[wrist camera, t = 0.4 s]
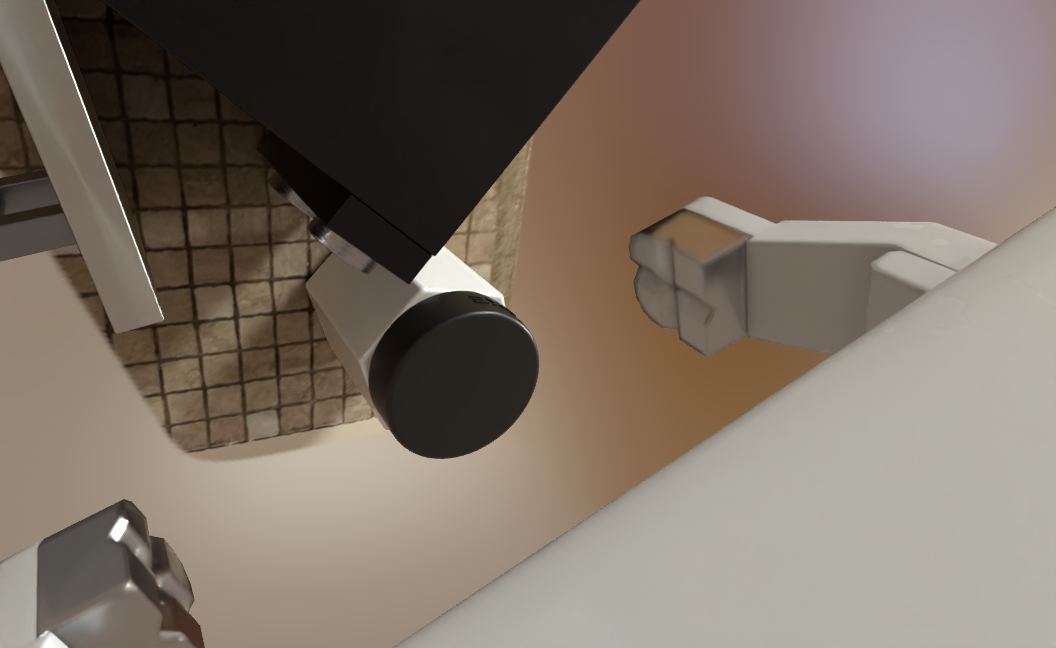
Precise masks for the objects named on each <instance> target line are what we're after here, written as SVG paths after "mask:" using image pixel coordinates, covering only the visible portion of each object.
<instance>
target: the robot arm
mask: <svg viewBox="0 0 1056 648" xmlns="http://www.w3.org/2000/svg"><path fill="white" fill-rule="evenodd" d="M629 252H630V259H631V260H632V261H633V262H635V263H636V264H637V265H638V266H639V268H638V271H637V273H636V276H635V278H634V287H635V293H636V298H637V300H638V302H639V304H640V305H641V308H642V310H643V312H644V313H645V314H646V315H647V316H648V317H649V318H650V319H651V321H653V322H654V323H656V324H657V325H659V326H660V327H662V328H670V329H678V332H679V338H680V340H681V341H683V342H684V343H686V344H687V345H689V346H690V347H692V348H693V349H695V350H697V351H698V352H699V353H701V354H702V355H704V356H706V357H707V358H709V357H710V356H712V355H714V354H715V353H717V352H719V351H721V350H722V349H724V348H726V347H727V346H729V345H731V344H733V343H734V342H736V341H738V340H739V339H741V338H743V337H745V336H746V335H748V337H749V338H754V339H758V340H763V341H768V342H773V343H778V344H782V345H787V346H793V347H797V348H802V349H806V350H811V351H816V352H821V353H826V354H831V355H832V356H831V357H829V358H827V359H826V360H825V361H823V362H821V363H820V364H818V365H817V366H815V367H814V368H812V369H811V370H809V371H808V372H807V373H805V374H803V375H802V376H800V377H799V378H797V379H796V380H795V381H793V382H791V383H790V384H789V385H787V386H785V387H784V388H782V389H781V390H779V391H778V392H777V393H775V394H773V395H772V396H770V397H769V398H767V399H766V400H764V401H763V402H761V403H760V404H758V405H757V406H755V407H754V408H752V409H751V410H749V411H748V412H746V413H745V414H743V415H742V416H740V417H739V418H737V419H736V420H734V421H733V422H731V423H730V424H728V425H727V426H725V427H724V428H722V429H721V430H719V431H718V432H716V433H715V434H713V435H711V436H710V437H708V438H707V439H705V440H704V441H702V442H701V443H699V444H698V445H696V446H695V447H694V448H692V449H690V450H689V451H687V452H686V453H685V454H683V455H681V456H680V457H678V458H677V459H675V460H674V461H672V462H671V463H669V464H668V465H666V466H665V467H663V468H662V469H660V470H659V471H657V472H656V473H654V474H653V475H651V476H650V477H648V478H647V479H645V480H643V481H642V482H640V483H639V484H637V485H636V486H635V487H633V488H632V489H630V490H628V491H627V492H625V493H624V494H623V495H621V496H620V497H618V498H616V499H615V500H613V501H612V502H611V503H609V504H607V505H606V506H604V507H603V508H601V509H600V510H599V511H597V512H595V513H594V514H592V515H591V516H590V517H588V518H586V519H585V520H583V521H582V522H580V523H579V524H577V525H576V526H574V527H573V528H571V529H570V530H569V531H567V532H565V533H564V534H562V535H561V536H559V537H558V538H556V539H555V540H553V541H552V542H550V543H549V544H548V545H546V546H544V547H543V548H542V549H540V550H538V551H537V552H536V553H534V554H532V555H531V556H529V557H528V558H526V559H525V560H523V561H522V562H520V563H519V564H517V565H516V566H514V567H513V568H511V569H510V570H508V571H507V572H505V573H504V574H502V575H501V576H499V577H498V578H496V579H495V580H493V581H492V582H490V583H489V584H487V585H486V586H484V587H483V588H481V589H480V590H478V591H477V592H475V593H474V594H472V595H471V596H469V597H468V598H466V599H465V600H463V601H462V602H460V603H459V604H457V605H456V606H454V607H453V608H451V609H450V610H448V611H447V612H445V613H444V614H442V615H441V616H439V617H438V618H436V619H435V620H433V621H432V622H430V623H429V624H427V625H426V626H424V627H423V628H421V629H420V630H418V631H417V632H415V633H414V634H412V635H411V636H409V637H408V638H406V639H405V640H403V641H402V642H400V643H399V644H397V645H396V646H394V647H393V648H1056V207H1054V208H1053V209H1051V210H1050V211H1048V212H1047V213H1045V214H1044V215H1042V216H1041V217H1039V218H1038V219H1036V220H1035V221H1033V222H1032V223H1030V224H1029V225H1027V226H1026V227H1024V228H1023V229H1021V230H1020V231H1018V232H1017V233H1015V234H1014V235H1012V236H1011V237H1009V238H1008V239H1006V240H1005V241H1003V242H1002V243H1000V244H999V245H998V244H996V243H993V242H990V241H987V240H984V239H981V238H978V237H975V236H972V235H969V234H966V233H963V232H961V231H958V230H955V229H952V228H949V227H946V226H943V225H940V224H937V223H934V222H864V221H860V222H859V221H782V222H780V223H778V224H774V223H772V222H770V221H767V220H765V219H762V218H760V217H758V216H755V215H753V214H750V213H748V212H745V211H743V210H741V209H738V208H736V207H733V206H731V205H728V204H726V203H724V202H721V201H719V200H716V199H714V198H711V197H700V198H699V199H697V200H695V201H693V202H692V203H690V204H688V205H686V206H684V207H683V208H681V209H679V210H678V211H677V212H675V213H673V214H671V215H670V216H668V217H666V218H664V219H662V220H660V221H658V222H657V223H655V224H653V225H651V226H649V227H647V228H645V229H643V230H642V231H640V232H638V233H636V234H634V235H632V236H631V238H630V243H629ZM193 602H194V596H193V592H192V588H191V584H190V581H189V579H188V577H187V574H186V572H185V570H184V567H183V565H182V563H181V562H180V560H179V558H178V557H177V555H176V554H175V552H174V551H173V549H172V548H171V547H170V546H169V545H168V543H167V542H166V541H165V540H164V538H159V537H153V536H149V532H148V526H147V521H146V517H145V516H144V515H143V514H142V513H141V511H140V510H139V509H138V508H137V507H136V506H135V505H134V504H133V503H132V502H131V501H128V500H124V499H123V500H121V501H120V502H117V503H115V504H114V505H111V506H109V507H107V508H105V509H103V510H101V511H99V512H97V513H95V514H93V515H91V516H89V517H87V518H85V519H83V520H81V521H79V522H77V523H75V524H73V525H71V526H69V527H67V528H65V529H63V530H61V531H59V532H57V533H55V534H53V535H51V536H49V537H47V538H45V539H44V540H43V541H40V542H37V543H35V544H33V545H32V546H29V547H28V548H26V549H24V550H22V551H20V552H18V553H16V554H14V555H12V556H10V557H8V558H6V559H5V560H2V561H1V562H0V648H205V647H204V642H203V637H202V632H201V628H200V625H199V624H198V623H197V622H196V620H195V619H194V618H193V617H192V616H191V615H190V614H189V611H190V608H191V606H192V604H193Z"/></svg>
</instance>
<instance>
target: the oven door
mask: <svg viewBox="0 0 1056 648" xmlns="http://www.w3.org/2000/svg"><path fill="white" fill-rule="evenodd" d="M0 65H1V67H2V70H3V72H4V74H5V77H6V79H7V81H8V84H9V86H10V88H11V91H12V93H13V96H14V98H15V100H16V103H17V105H18V107H19V110H20V112H21V114H22V117H23V119H24V121H25V124H26V126H27V128H28V131H29V133H30V136H31V138H32V140H33V143H34V145H35V147H36V150H37V152H38V154H39V157H40V159H41V161H42V164H43V166H44V169H45V170H41V171H36V172H30V173H25V174H19V175H14V176H9V177H3V178H0V261H4V260H8V259H13V258H17V257H21V256H26V255H30V254H34V253H39V252H44V251H48V250H52V249H57V248H61V247H65V246H70V245H74V244H77V246H78V249H79V251H80V253H81V256H82V258H83V260H84V262H85V264H86V266H87V269H88V271H89V273H90V276H91V278H92V280H93V283H94V285H95V287H96V290H97V292H98V295H99V297H100V299H101V302H102V304H103V306H104V309H105V311H106V313H107V316H108V318H109V320H110V323H111V325H112V328H113V330H114V332H115V333H116V334H118V333H122V332H126V331H129V330H133V329H136V328H140V327H143V326H147V325H150V324H154V323H157V322H161V321H164V319H165V318H164V315H163V311H162V308H161V305H160V301H159V298H158V295H157V291H156V288H155V285H154V281H153V278H152V275H151V271H150V268H149V265H148V261H147V258H146V255H145V251H144V248H143V245H142V241H141V238H140V235H139V232H138V228H137V225H136V222H135V218H134V215H133V212H132V209H131V207H130V204H129V201H128V198H127V196H126V193H125V190H124V188H123V185H122V182H121V179H120V177H119V174H118V171H117V169H116V166H115V163H114V160H113V158H112V155H111V152H110V150H109V147H108V144H107V141H106V139H105V136H104V133H103V131H102V128H101V125H100V122H99V120H98V117H97V114H96V112H95V109H94V106H93V103H92V101H91V98H90V95H89V93H88V90H87V87H86V84H85V82H84V79H83V76H82V74H81V71H80V68H79V65H78V63H77V60H76V57H75V55H74V52H73V49H72V46H71V44H70V41H69V38H68V36H67V33H66V30H65V27H64V25H63V22H62V19H61V17H60V14H59V11H58V8H57V6H56V3H55V0H0Z"/></svg>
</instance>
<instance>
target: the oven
mask: <svg viewBox="0 0 1056 648" xmlns="http://www.w3.org/2000/svg"><path fill="white" fill-rule="evenodd" d="M101 1H102V2H103V3H105V4H106V5H107V6H109V7H110V8H111V9H112V10H114V11H115V12H116V13H118V14H119V15H120V16H122V17H123V18H124V19H125V20H127V21H128V22H129V23H131V24H132V25H133V26H135V27H136V28H137V29H139V30H140V31H141V32H142V33H144V34H145V35H146V36H148V37H149V38H150V39H152V40H153V41H154V42H155V43H157V44H158V45H159V46H161V47H162V48H163V49H165V50H166V51H167V52H168V53H170V54H171V55H172V56H174V57H175V58H176V59H178V60H179V61H180V62H182V63H183V64H184V65H185V66H187V67H188V68H189V69H191V70H192V71H193V72H195V73H196V74H197V75H198V76H200V77H201V78H202V79H204V80H205V81H206V82H208V83H209V84H210V85H211V86H213V87H214V88H215V89H217V90H218V91H219V92H221V93H222V94H223V95H224V96H226V97H227V98H228V99H230V100H231V101H232V102H234V103H235V104H236V105H238V106H239V107H240V108H241V109H243V110H244V111H245V112H247V113H248V114H249V115H251V116H252V117H253V118H254V119H256V120H257V121H258V122H260V123H261V124H262V125H264V126H265V127H266V128H267V129H269V130H270V131H271V132H270V133H269V134H268V136H267V137H266V138H265V140H264V141H263V142H262V143H261V145H260V146H259V147H258V148H257V151H258V152H259V153H260V154H261V155H262V156H263V158H264V159H265V160H266V161H267V162H268V163H269V164H270V165H271V166H272V167H273V169H274V170H275V171H276V172H275V173H274V174H273V176H272V177H271V178H270V179H269V181H268V183H269V184H270V186H271V187H272V188H273V189H274V190H276V191H277V192H278V193H279V194H280V195H281V196H283V197H284V198H285V199H286V200H288V201H289V202H290V203H292V204H293V205H294V206H295V207H297V208H298V209H300V210H301V211H302V212H304V213H305V214H307V215H308V216H310V217H311V218H313V220H312V221H311V222H310V223H309V225H308V226H307V230H308V231H309V232H310V233H311V234H312V235H313V236H314V237H315V238H316V239H317V240H318V241H319V242H320V243H321V244H323V245H324V246H325V247H326V248H327V249H329V250H330V251H331V252H333V253H334V254H335V255H336V256H338V257H339V258H341V259H342V260H343V261H345V262H346V263H348V264H349V265H350V266H352V267H354V268H355V269H357V270H358V271H360V272H362V273H364V274H367V275H369V274H370V273H371V272H372V271H373V269H374V268H375V267H376V266H377V264H380V265H381V266H383V267H384V268H385V269H387V270H388V271H390V272H391V273H393V274H394V275H395V276H397V277H398V278H400V279H401V280H402V281H404V282H405V283H407V284H410V283H411V282H412V281H413V280H414V278H415V277H416V276H417V275H418V273H419V272H420V271H421V270H422V268H423V267H424V266H425V265H426V263H427V262H428V261H429V260H430V258H431V257H432V255H433V256H436V255H437V254H438V253H439V251H440V250H441V249H442V248H443V246H444V245H445V244H446V243H447V241H448V240H449V239H450V238H451V236H452V235H453V234H454V233H455V231H456V230H457V229H458V228H459V226H460V225H461V224H462V223H463V221H464V220H465V219H466V218H467V216H468V215H469V214H470V213H471V211H472V210H473V209H474V208H475V206H476V205H477V204H478V203H479V201H480V200H481V199H482V198H483V196H484V195H485V194H486V193H487V191H488V190H489V189H490V188H491V186H492V185H493V184H494V183H495V181H496V180H497V179H498V178H499V176H500V175H501V174H502V173H503V171H504V170H505V169H506V168H507V166H508V165H509V164H510V163H511V161H512V160H513V159H514V158H515V156H516V155H517V154H518V153H519V151H520V150H521V149H522V148H523V146H524V145H525V144H526V143H527V141H528V140H529V139H530V138H531V136H532V135H533V134H534V133H535V131H536V130H537V129H538V128H539V126H540V125H541V124H542V123H543V121H544V120H545V119H546V118H547V116H548V115H549V114H550V113H551V111H552V110H553V109H554V108H555V106H556V105H557V104H558V103H559V101H560V100H561V99H562V98H563V96H564V95H565V94H566V93H567V91H568V90H569V89H570V88H571V86H572V85H573V84H574V83H575V81H576V80H577V79H578V78H579V76H580V75H581V74H582V73H583V71H584V70H585V69H586V68H587V66H588V65H589V64H590V63H591V61H592V60H593V59H594V58H595V56H596V55H597V54H598V53H599V51H600V50H601V49H602V47H603V46H604V45H605V44H606V43H607V41H608V40H609V39H610V38H611V36H612V35H613V34H614V33H615V31H616V30H617V29H618V28H619V26H620V25H621V24H622V23H623V21H624V20H625V19H626V18H627V16H628V15H629V14H630V13H631V11H632V10H633V9H634V8H635V6H636V5H637V4H638V3H639V1H640V0H101Z"/></svg>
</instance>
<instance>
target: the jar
mask: <svg viewBox="0 0 1056 648" xmlns="http://www.w3.org/2000/svg"><path fill="white" fill-rule="evenodd" d="M305 286H306V289H307V292H308V294H309V296H310V299H311V301H312V304H313V306H314V309H315V311H316V314H317V316H318V319H319V321H320V323H321V326H322V328H323V331H324V333H325V336H326V338H327V341H328V343H329V346H330V347H331V349H332V350H333V352H334V353H335V355H336V356H337V358H338V359H339V361H340V362H341V364H342V365H343V367H344V368H345V370H346V371H347V373H348V374H349V376H350V377H351V379H352V380H353V382H354V383H355V385H356V386H357V388H358V389H359V391H360V392H361V394H362V395H363V397H364V398H365V400H366V401H367V403H368V404H369V406H370V407H371V409H372V411H373V412H374V414H375V415H376V417H377V418H378V420H379V421H380V423H381V424H382V426H383V427H384V428H385V429H387V430H390V431H391V432H392V434H393V435H394V437H395V438H396V439H397V440H398V442H399V443H400V444H401V445H403V446H404V447H405V448H407V449H408V450H409V451H411V452H413V453H415V454H417V455H420V456H423V457H427V458H436V459H445V458H454V457H459V456H463V455H466V454H469V453H472V452H474V451H477V450H479V449H481V448H483V447H485V446H486V445H488V444H490V443H491V442H492V441H494V440H496V439H497V438H498V437H500V436H501V435H502V434H503V433H504V432H506V431H507V430H508V429H509V428H510V427H511V426H512V425H513V424H514V422H515V421H516V420H517V419H518V418H519V416H520V415H521V414H522V412H523V411H524V409H525V408H526V406H527V404H528V402H529V400H530V398H531V396H532V394H533V392H534V389H535V386H536V382H537V378H538V372H539V371H538V370H539V356H538V350H537V346H536V343H535V341H534V338H533V337H532V335H531V333H530V332H529V330H528V329H527V328H526V327H525V325H523V323H522V322H521V321H520V320H519V319H517V318H516V315H514V314H513V313H512V312H511V311H510V310H509V309H507V308H506V307H505V303H504V299H503V295H502V294H501V293H500V292H499V291H497V290H496V289H495V288H494V287H492V286H491V285H490V284H489V283H488V282H486V281H485V280H484V279H483V278H482V277H480V276H479V275H478V274H477V273H476V272H474V271H473V270H472V269H471V268H470V267H468V266H467V265H466V264H465V263H464V262H462V261H461V260H460V259H459V258H458V257H456V256H455V255H454V254H453V253H452V252H450V251H449V250H448V249H447V248H445V247H444V246H443V248H442V249H441V250H440V251H439V253H438V254H437V255H436V256H433V255H432V257H431V258H430V260H429V261H428V262H427V263H426V265H425V266H424V267H423V268H422V270H421V271H420V272H419V273H418V275H417V276H416V277H415V278H414V280H413V281H412V282H411V283H410V284H407V283H405V282H404V281H402V280H401V279H400V278H398V277H397V276H395V275H394V274H393V273H391V272H390V271H388V270H387V269H385V268H384V267H383V266H381V265H380V264H377V266H376V267H375V268H374V269H373V271H372V272H371V273H370V274H369V275H367V274H364V273H362V272H360V271H358V270H357V269H355V268H354V267H352V266H350V265H349V264H348V263H346V262H345V261H343V260H342V259H341V258H339V257H338V256H336V255H335V254H334V253H333V252H332V253H331V254H330V256H329V257H328V258H327V259H326V260H325V261H324V263H323V264H322V265H321V266H320V267H319V268H318V269H317V271H316V272H315V273H314V274H313V275H312V276H311V278H310V279H309V280H308V281H307V282H306V285H305Z"/></svg>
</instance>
